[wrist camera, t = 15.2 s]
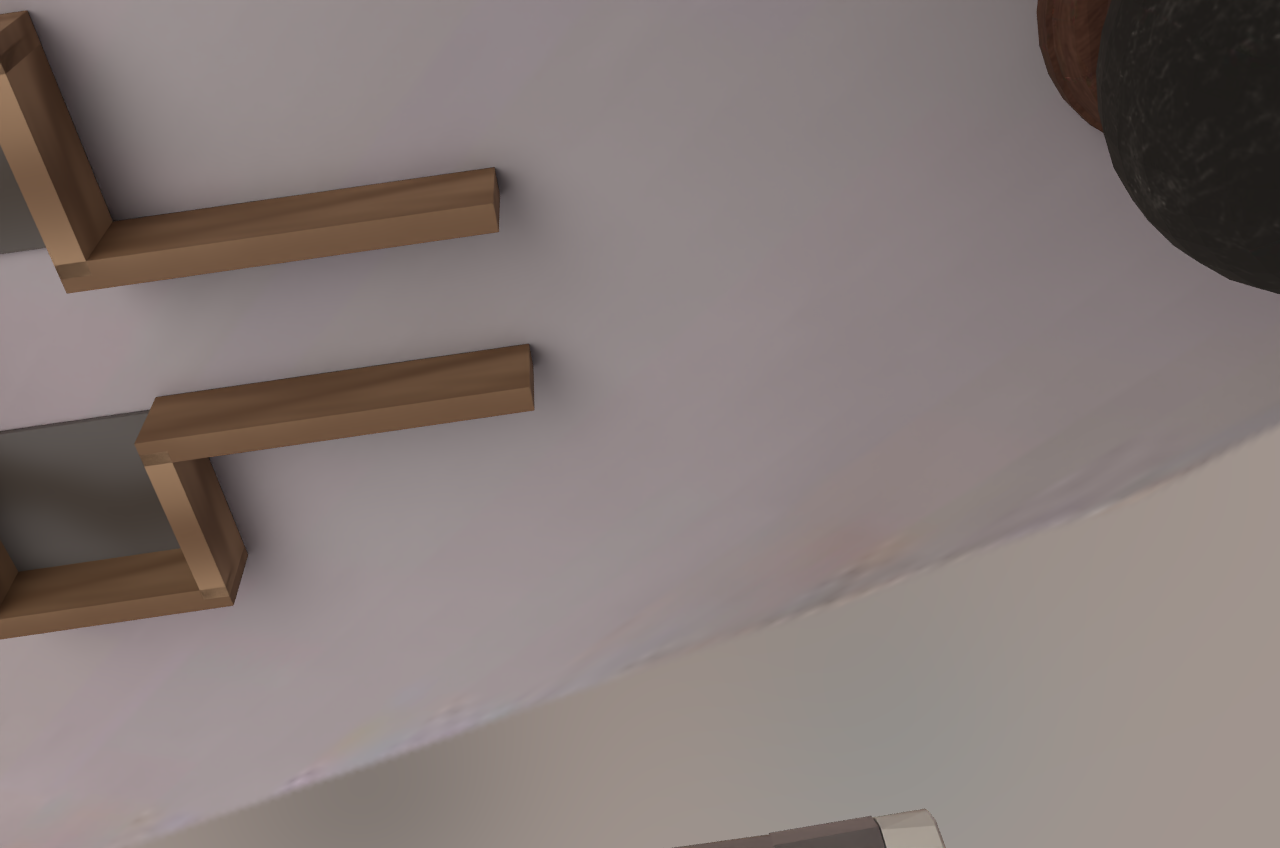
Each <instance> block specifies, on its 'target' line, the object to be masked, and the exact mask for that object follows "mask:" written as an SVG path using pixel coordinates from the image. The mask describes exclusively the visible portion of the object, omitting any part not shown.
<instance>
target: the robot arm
mask: <svg viewBox="0 0 1280 848" xmlns="http://www.w3.org/2000/svg"><path fill="white" fill-rule="evenodd" d="M674 848H946V847H945V845H944V842H943V839H942V836H941V834H940V831H939V828H938V825H937V822H936V820H935V819H934V817H933V816H932V815H931V814H930V813H929V811H928V810H926V809H920V810H914V811H908V812H902V813H896V814H890V815H884V816H878V817H873V818H872V816H868V817H862V818H855V819H849V820H843V821H838V822H831V823H826V824H819V825H814V826H808V827H802V828H796V829H790V830H784V831H778V832H772V833H769V835H761V836H754V837H746V838H739V839H732V840H725V841H717V842H711V843H704V844H696V845H689V846H682V847H674Z"/></svg>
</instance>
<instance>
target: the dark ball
mask: <svg viewBox="0 0 1280 848" xmlns="http://www.w3.org/2000/svg"><path fill="white" fill-rule="evenodd" d="M1037 22H1038V34H1039V45H1040V48H1041V52H1042V55H1043V58H1044V61H1045V65H1046V68H1047V71H1048V74H1049V76H1050V77H1051V79H1052V81H1053V83H1054V84H1055V86H1056V88H1057V89H1058V91H1059V93H1060V94H1061V96H1062V98H1063V99H1064V100H1065V101H1066V102H1067V103H1068V104H1069V105H1070V106H1071V107H1072V108H1073V109H1074V110H1075V111H1076V112H1077V113H1078V114H1079V115H1080V116H1081V117H1082V118H1083V119H1084V120H1085V121H1087V122H1088V123H1089V124H1090V125H1091V126H1093V127H1095V128H1096V129H1098V130H1100V131H1101V132H1103V133H1104V135H1105V139H1106V142H1107V146H1108V149H1109V153H1110V156H1111V160H1112V163H1113V167H1114V169H1115V171H1116V173H1117V174H1118V176H1119V178H1120V179H1121V181H1122V183H1123V185H1124V186H1125V188H1126V190H1127V191H1128V193H1129V195H1130V197H1131V198H1132V200H1133V201H1134V202H1135V204H1136V205H1137V206H1138V208H1139V209H1140V210H1141V212H1142V213H1143V214H1144V216H1145V217H1146V218H1147V220H1148V221H1149V222H1150V223H1151V224H1152V225H1153V226H1154V227H1155V228H1156V229H1157V230H1158V231H1159V232H1160V233H1161V234H1162V235H1163V236H1164V237H1165V238H1167V239H1168V240H1169V241H1170V242H1171V243H1172V244H1173V245H1174V246H1175V247H1177V248H1178V249H1180V250H1181V251H1183V252H1184V253H1186V254H1187V255H1189V256H1190V257H1192V258H1193V259H1195V260H1196V261H1198V262H1200V263H1201V264H1203V265H1205V266H1207V267H1208V268H1210V269H1212V270H1214V271H1215V272H1217V273H1219V274H1221V275H1222V276H1224V277H1226V278H1228V279H1229V280H1233V281H1236V282H1239V283H1243V284H1246V285H1250V286H1253V287H1256V288H1260V289H1263V290H1267V291H1270V292H1274V293H1277V294H1280V0H1038V5H1037Z"/></svg>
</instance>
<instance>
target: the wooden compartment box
mask: <svg viewBox="0 0 1280 848" xmlns="http://www.w3.org/2000/svg"><path fill="white" fill-rule="evenodd" d="M499 208H500V193H499V188H498V183H497V178H496V173H495V167H493V168H486V169H479V170H472V171H465V172H458V173H451V174H444V175H437V176H430V177H423V178H416V179H409V180H402V181H395V182H388V183H381V184H374V185H367V186H360V187H352V188H345V189H338V190H331V191H324V192H317V193H310V194H303V195H296V196H289V197H282V198H275V199H268V200H261V201H254V202H247V203H240V204H233V205H226V206H219V207H212V208H205V209H198V210H191V211H184V212H177V213H169V214H162V215H155V216H148V217H141V218H134V219H127V220H120V221H112V218H111V216H110V213H109V211H108V208H107V206H106V204H105V201H104V199H103V196H102V194H101V191H100V189H99V186H98V184H97V181H96V179H95V176H94V174H93V171H92V169H91V167H90V164H89V162H88V159H87V157H86V154H85V152H84V149H83V147H82V144H81V142H80V139H79V137H78V134H77V132H76V130H75V127H74V125H73V122H72V120H71V117H70V115H69V112H68V110H67V107H66V105H65V102H64V100H63V97H62V95H61V93H60V90H59V88H58V85H57V83H56V80H55V78H54V75H53V73H52V70H51V68H50V65H49V63H48V60H47V58H46V56H45V53H44V51H43V48H42V46H41V43H40V41H39V38H38V36H37V33H36V31H35V28H34V26H33V23H32V21H31V19H30V16H29V14H28V11H20V12H13V13H6V14H0V254H4V253H11V252H18V251H25V250H32V249H39V248H47V250H48V253H49V255H50V257H51V259H52V261H53V264H54V266H55V268H56V270H57V273H58V275H59V277H60V279H61V282H62V284H63V286H64V288H65V291H66V293H74V292H81V291H88V290H95V289H102V288H109V287H116V286H123V285H130V284H137V283H144V282H151V281H158V280H165V279H172V278H179V277H186V276H193V275H200V274H207V273H214V272H221V271H228V270H235V269H242V268H249V267H256V266H263V265H270V264H277V263H284V262H291V261H298V260H305V259H312V258H319V257H326V256H333V255H340V254H347V253H354V252H361V251H368V250H375V249H383V248H390V247H397V246H404V245H411V244H418V243H425V242H432V241H439V240H446V239H453V238H460V237H467V236H474V235H481V234H488V233H495V232H499ZM533 410H534V374H533V362H532V357H531V352H530V347H529V344H524V345H517V346H510V347H503V348H497V349H490V350H483V351H476V352H469V353H462V354H455V355H448V356H441V357H434V358H427V359H420V360H413V361H406V362H399V363H392V364H385V365H378V366H371V367H364V368H357V369H350V370H343V371H336V372H329V373H322V374H316V375H309V376H302V377H295V378H288V379H281V380H274V381H267V382H260V383H253V384H246V385H239V386H232V387H225V388H218V389H211V390H204V391H197V392H190V393H183V394H176V395H169V396H162V397H156V398H155V400H154V402H153V405H152V407H151V409H150V410H147V411H140V412H133V413H126V414H119V415H112V416H105V417H98V418H91V419H84V420H77V421H70V422H63V423H56V424H49V425H42V426H35V427H28V428H21V429H14V430H7V431H0V639H6V638H13V637H20V636H27V635H34V634H41V633H48V632H54V631H61V630H68V629H75V628H82V627H89V626H96V625H103V624H109V623H116V622H123V621H130V620H137V619H144V618H151V617H158V616H164V615H171V614H178V613H185V612H192V611H199V610H206V609H212V608H219V607H226V606H233V605H234V602H235V599H236V595H237V592H238V588H239V585H240V581H241V578H242V574H243V571H244V567H245V564H246V560H247V557H248V554H247V551H246V549H245V546H244V544H243V541H242V539H241V536H240V534H239V532H238V529H237V527H236V524H235V522H234V519H233V517H232V514H231V512H230V509H229V507H228V504H227V502H226V499H225V497H224V495H223V492H222V490H221V487H220V485H219V482H218V480H217V477H216V475H215V472H214V470H213V467H212V465H211V462H210V460H209V458H208V457H214V456H221V455H228V454H235V453H242V452H249V451H256V450H263V449H270V448H277V447H284V446H290V445H297V444H304V443H311V442H318V441H325V440H332V439H339V438H346V437H353V436H360V435H367V434H374V433H381V432H388V431H394V430H401V429H408V428H415V427H422V426H429V425H436V424H443V423H450V422H457V421H464V420H471V419H478V418H485V417H492V416H498V415H505V414H512V413H519V412H526V411H533Z"/></svg>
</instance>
